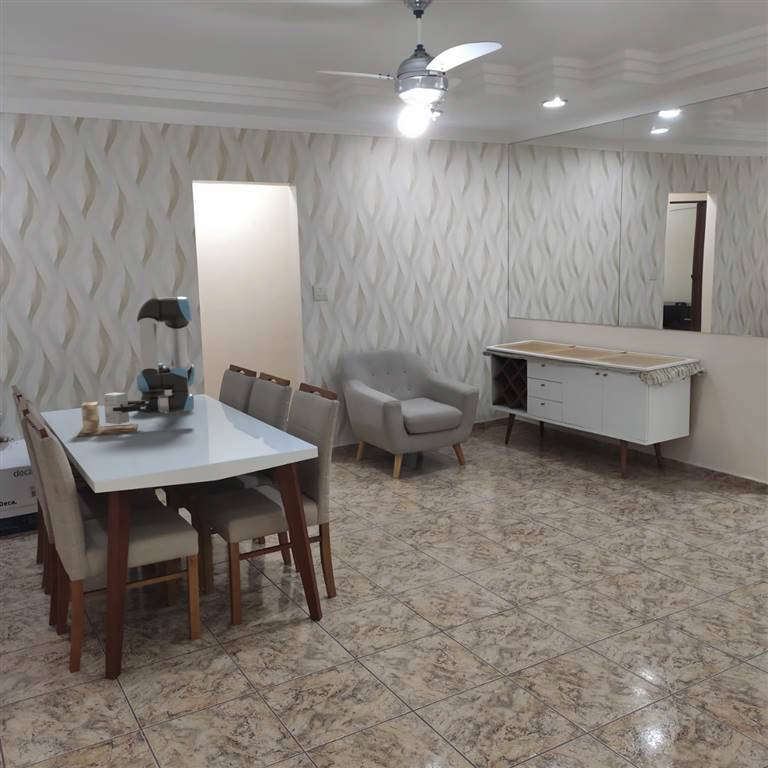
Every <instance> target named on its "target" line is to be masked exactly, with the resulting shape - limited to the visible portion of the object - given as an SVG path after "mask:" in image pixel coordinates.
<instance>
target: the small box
mask: <svg viewBox="0 0 768 768" xmlns="http://www.w3.org/2000/svg"><path fill="white" fill-rule="evenodd" d="M128 401H129V400H128V393H127V392H108V393H105V394H103V402H104V403H103V404H104V407H105V406H120V405H121V404H122V405H123V406H125V405H128ZM129 413H130V412H124V413H123V412H111V413H105V412H104V414H105V416H104V417H105V423H106V424H112V425H115V424H116V425H123V424H127V423H129V422H130V415H129Z"/></svg>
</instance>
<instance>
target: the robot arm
mask: <svg viewBox="0 0 768 768" xmlns="http://www.w3.org/2000/svg"><path fill="white" fill-rule="evenodd" d="M192 316H193V314H192V309H191V304H190V300H189V298H188V297H186V296H176V297H175V296H173V297H172V296H170V297H169V296H167V297H165V296H164V297H163V296H162V297H158V296H157V297H152V298H149V299H148V300H147V301H145V302H144V303H143V304H142V306H141V307H140V309H139V311H138V313H137V317H136V319H137V320H136V324H137V325H136V326H137V327H138V328H139V345H140V347H139V348H140V369H139V374H138V375H137V376H136V386H137V390H138V392H140V395H141V396H140V400H139V399H138V400H127V401H128V405H125V406H123V405H122V404H121V405H120V406H105V405H104V414H105V413H111V412H123V413H124V412H128V413H130V412H131V413H132V412H144V413H145V412H146V413H150V414H157V413H164V414H167V413H171V412H172V413H174V412H185V411H186V412H187V411H192V410H193V409H195V399H194V394H193V393H190V392H189V387H192V386H193V385H194V382H195V365H194V364H193V363H191V361H190V359H189V354H188V352H189V351H188V334H187V327H188V326H189V324H190V322H191V321H192V320H193V317H192ZM160 323H164V325H165V326H166V327H167V330H168V331H167V333H168V344H169V347H168V348H169V358H170V360H169V361H168V363H167V365H165V364H164V363H163V362H160V363H159V352H158V351H159V349H158V334H157V333H158V330H157V328H158V327H159V324H160ZM166 391H171V395H170V394H168V395H167V394H166Z"/></svg>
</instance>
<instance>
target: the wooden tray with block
mask: <svg viewBox="0 0 768 768" xmlns="http://www.w3.org/2000/svg"><path fill="white" fill-rule="evenodd" d="M80 406H81V417H82V418H81V419H82V427H81V429H80V430H79V432H78V434H77V438H86V437H87V438H88V437H99V436H113V435H115V436H116V435H125V434H137V431H138V427H139V424H138V423H130V424H129V423H128V424H127V423H125V424H116V425H115V424H112V425H102V426H101V423H100V411H99V401H89V402H83V403H82V404H81V405H80Z"/></svg>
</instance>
